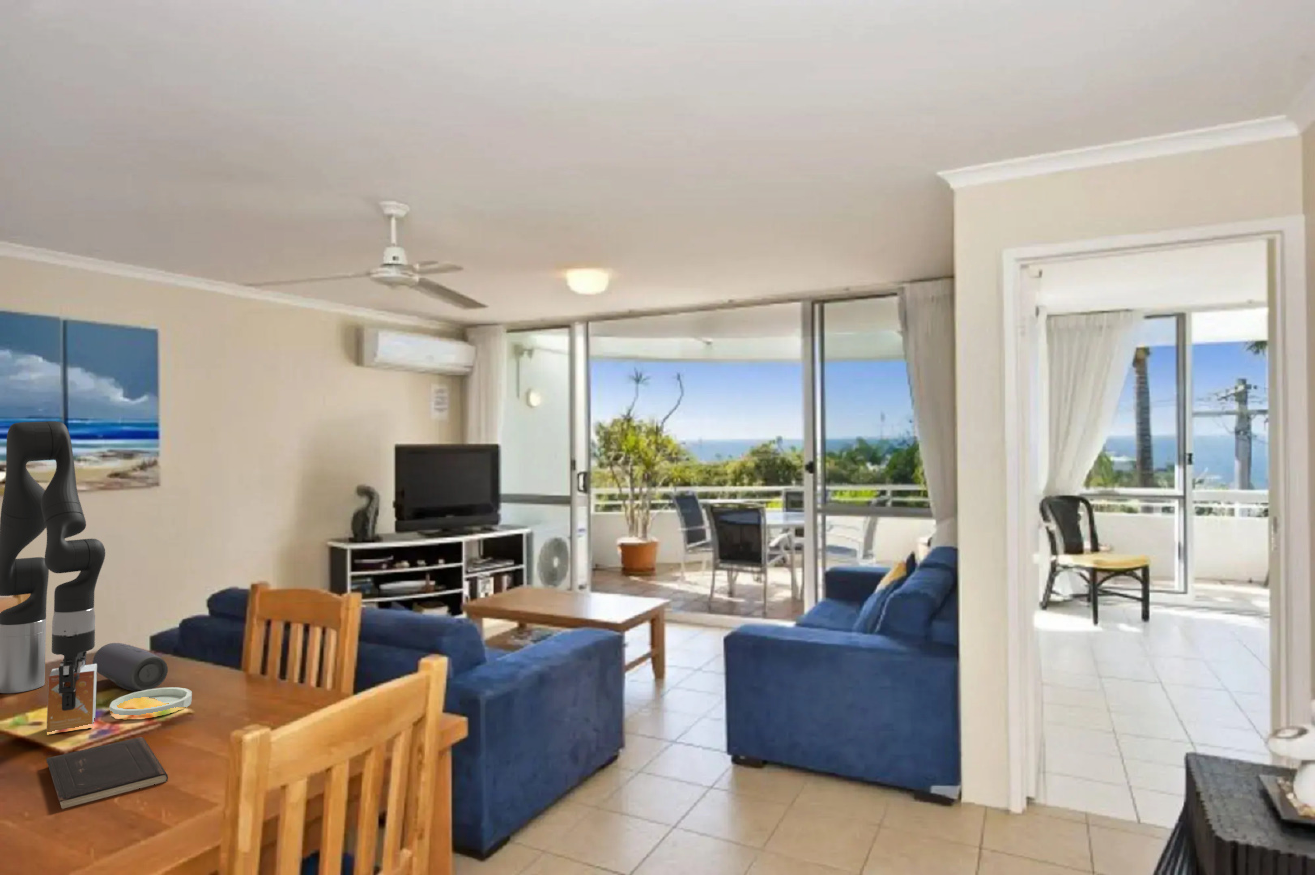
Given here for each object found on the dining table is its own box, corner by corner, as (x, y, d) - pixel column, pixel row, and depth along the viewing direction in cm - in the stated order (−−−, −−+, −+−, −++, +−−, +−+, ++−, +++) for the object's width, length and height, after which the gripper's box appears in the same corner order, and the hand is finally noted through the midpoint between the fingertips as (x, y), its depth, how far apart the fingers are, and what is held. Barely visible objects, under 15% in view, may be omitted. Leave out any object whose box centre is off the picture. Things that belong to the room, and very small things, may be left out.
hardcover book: (59, 813, 127) (59, 800, 127) (45, 769, 144) (46, 758, 144) (167, 784, 138) (168, 772, 138) (144, 747, 155) (144, 736, 155)
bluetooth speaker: (170, 689, 188) (171, 650, 189) (128, 700, 181) (129, 659, 181) (130, 673, 201) (130, 637, 201) (89, 682, 193) (90, 644, 193)
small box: (46, 736, 158) (47, 676, 158) (50, 726, 163) (51, 668, 163) (93, 729, 162) (94, 670, 162) (95, 719, 168) (97, 662, 168)
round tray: (116, 702, 179) (116, 693, 179) (193, 692, 186) (193, 683, 186) (104, 724, 165) (104, 715, 165) (188, 713, 172) (188, 704, 172)
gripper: (60, 624, 167) (58, 697, 167) (44, 639, 155) (42, 718, 155) (100, 620, 171) (99, 692, 171) (88, 635, 158) (86, 712, 158)
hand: (72, 704), depth 163 cm, fingers closed on small box, 6 cm apart
